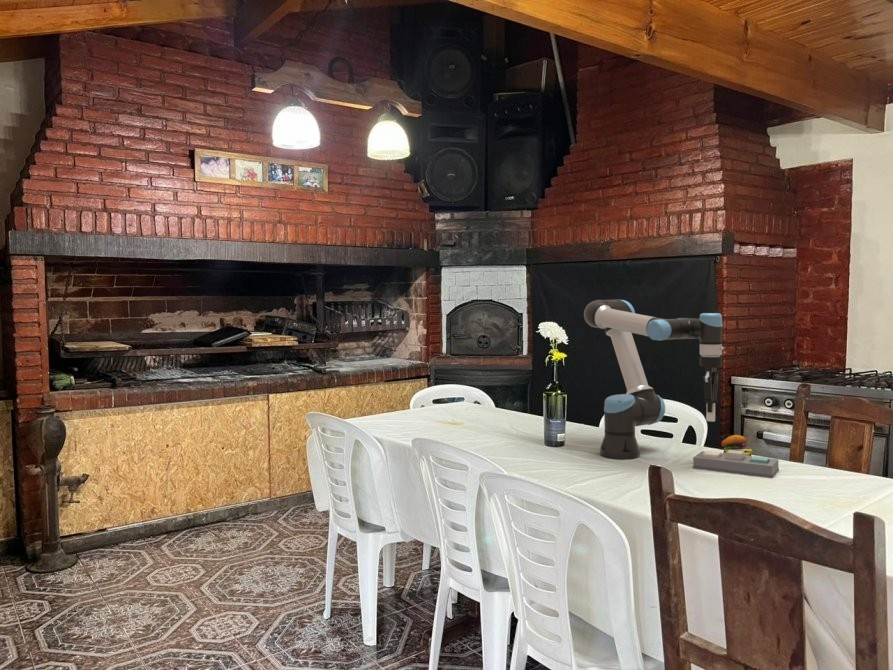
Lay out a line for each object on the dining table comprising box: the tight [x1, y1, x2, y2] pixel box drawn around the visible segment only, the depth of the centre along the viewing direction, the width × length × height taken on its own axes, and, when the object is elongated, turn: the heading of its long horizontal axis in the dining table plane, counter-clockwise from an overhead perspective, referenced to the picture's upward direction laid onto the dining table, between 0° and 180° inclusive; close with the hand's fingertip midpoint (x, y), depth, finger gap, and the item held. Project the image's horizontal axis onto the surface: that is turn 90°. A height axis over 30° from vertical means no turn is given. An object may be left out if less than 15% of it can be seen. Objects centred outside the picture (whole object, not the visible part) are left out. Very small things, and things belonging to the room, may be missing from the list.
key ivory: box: [703, 450, 722, 458], centre depth 239 cm, size 5×5×4 cm
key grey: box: [726, 450, 744, 461], centre depth 234 cm, size 5×5×4 cm
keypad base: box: [692, 450, 780, 479], centre depth 234 cm, size 26×12×4 cm, turn 54°
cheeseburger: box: [720, 434, 753, 456], centre depth 251 cm, size 10×11×10 cm
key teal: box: [751, 455, 770, 464], centre depth 230 cm, size 5×5×4 cm
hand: (710, 420), depth 239 cm, fingers closed
